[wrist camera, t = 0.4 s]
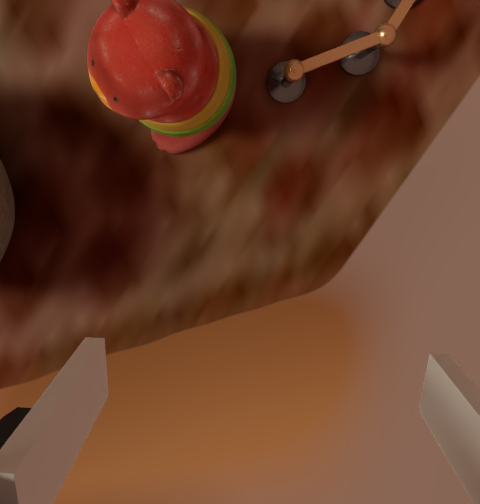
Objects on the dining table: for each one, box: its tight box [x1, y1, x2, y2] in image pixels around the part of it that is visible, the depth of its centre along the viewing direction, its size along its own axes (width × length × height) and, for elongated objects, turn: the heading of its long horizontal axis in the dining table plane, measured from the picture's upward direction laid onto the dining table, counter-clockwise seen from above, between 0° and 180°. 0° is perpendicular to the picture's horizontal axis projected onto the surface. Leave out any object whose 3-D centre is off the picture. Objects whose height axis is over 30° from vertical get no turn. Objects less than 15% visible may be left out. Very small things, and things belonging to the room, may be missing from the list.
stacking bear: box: [87, 0, 237, 154], centre depth 30 cm, size 11×10×18 cm
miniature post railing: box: [267, 0, 417, 103], centre depth 33 cm, size 8×16×9 cm, turn 110°
